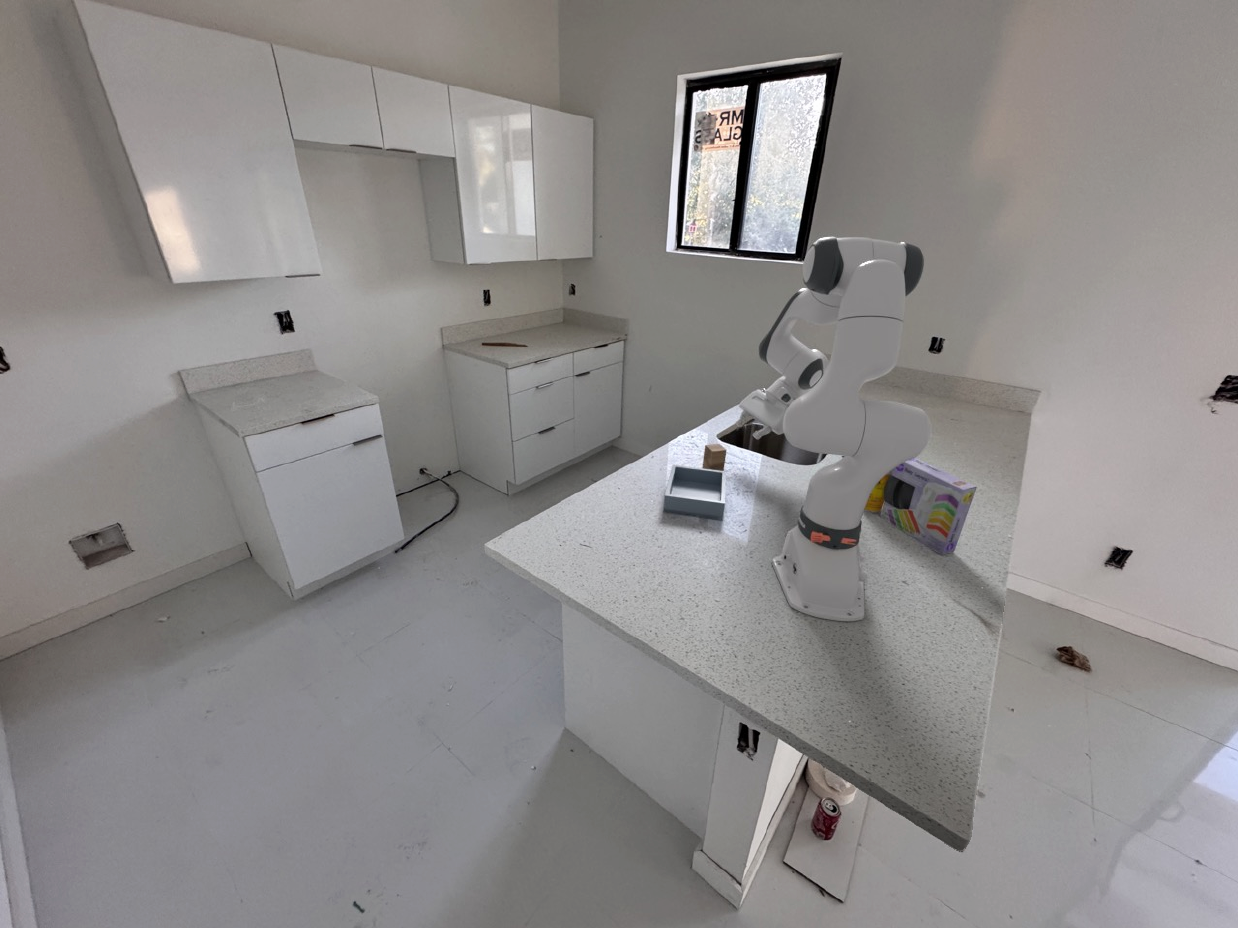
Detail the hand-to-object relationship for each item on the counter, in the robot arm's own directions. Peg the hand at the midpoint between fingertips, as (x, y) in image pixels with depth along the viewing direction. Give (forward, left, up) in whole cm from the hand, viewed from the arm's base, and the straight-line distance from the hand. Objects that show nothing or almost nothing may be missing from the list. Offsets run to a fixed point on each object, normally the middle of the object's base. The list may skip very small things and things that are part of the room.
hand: (746, 431), depth 146 cm
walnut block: (-5, +8, -12) cm, 16 cm away
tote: (-23, +12, -12) cm, 28 cm away
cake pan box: (-25, -42, -13) cm, 50 cm away
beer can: (-15, -34, -12) cm, 39 cm away
